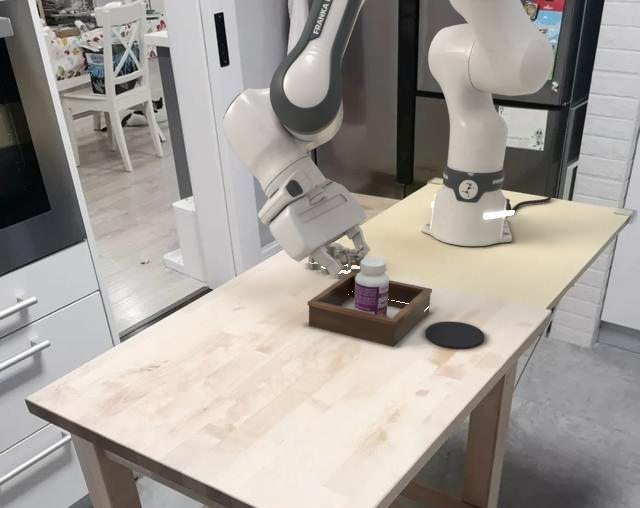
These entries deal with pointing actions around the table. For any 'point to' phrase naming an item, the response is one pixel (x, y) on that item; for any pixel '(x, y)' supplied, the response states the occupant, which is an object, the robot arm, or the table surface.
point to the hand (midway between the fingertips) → (352, 263)
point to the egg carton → (340, 259)
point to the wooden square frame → (366, 325)
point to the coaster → (454, 335)
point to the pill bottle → (372, 287)
